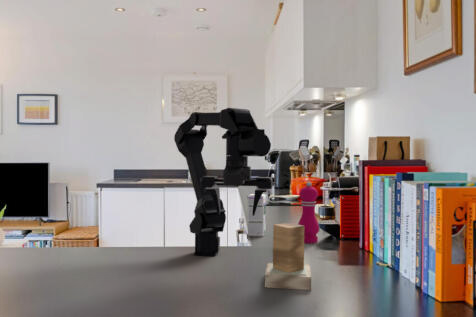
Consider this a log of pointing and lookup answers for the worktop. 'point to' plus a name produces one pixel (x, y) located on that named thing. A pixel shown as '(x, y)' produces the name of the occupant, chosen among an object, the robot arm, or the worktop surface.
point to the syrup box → (257, 216)
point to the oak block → (288, 247)
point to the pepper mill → (309, 213)
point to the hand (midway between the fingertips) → (236, 215)
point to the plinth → (288, 278)
